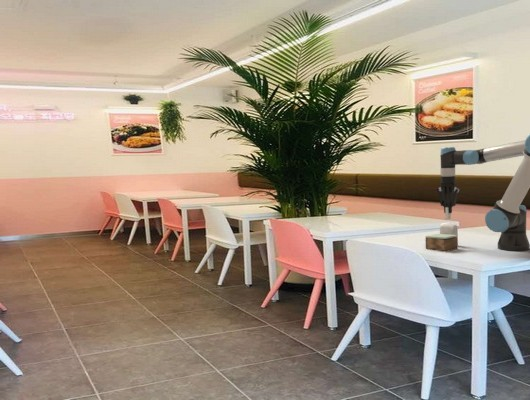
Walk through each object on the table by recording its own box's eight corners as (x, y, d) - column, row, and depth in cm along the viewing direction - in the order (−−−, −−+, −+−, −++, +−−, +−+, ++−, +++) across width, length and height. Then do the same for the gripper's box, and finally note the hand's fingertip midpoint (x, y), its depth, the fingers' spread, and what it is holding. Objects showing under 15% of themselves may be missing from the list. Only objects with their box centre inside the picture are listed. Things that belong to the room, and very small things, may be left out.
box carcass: (457, 248, 268) (457, 237, 267) (445, 251, 261) (445, 240, 261) (438, 246, 277) (437, 235, 277) (425, 248, 271) (425, 237, 270)
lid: (457, 236, 267) (457, 235, 267) (445, 239, 261) (445, 237, 261) (437, 235, 277) (437, 233, 277) (425, 237, 270) (425, 236, 270)
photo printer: (438, 244, 283) (438, 222, 282) (444, 243, 285) (443, 221, 284) (453, 246, 274) (453, 224, 273) (459, 245, 276) (458, 223, 275)
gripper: (462, 175, 271) (462, 219, 273) (440, 175, 281) (441, 217, 283) (455, 176, 266) (455, 220, 268) (433, 176, 276) (433, 218, 278)
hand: (448, 219), depth 276 cm, fingers closed
